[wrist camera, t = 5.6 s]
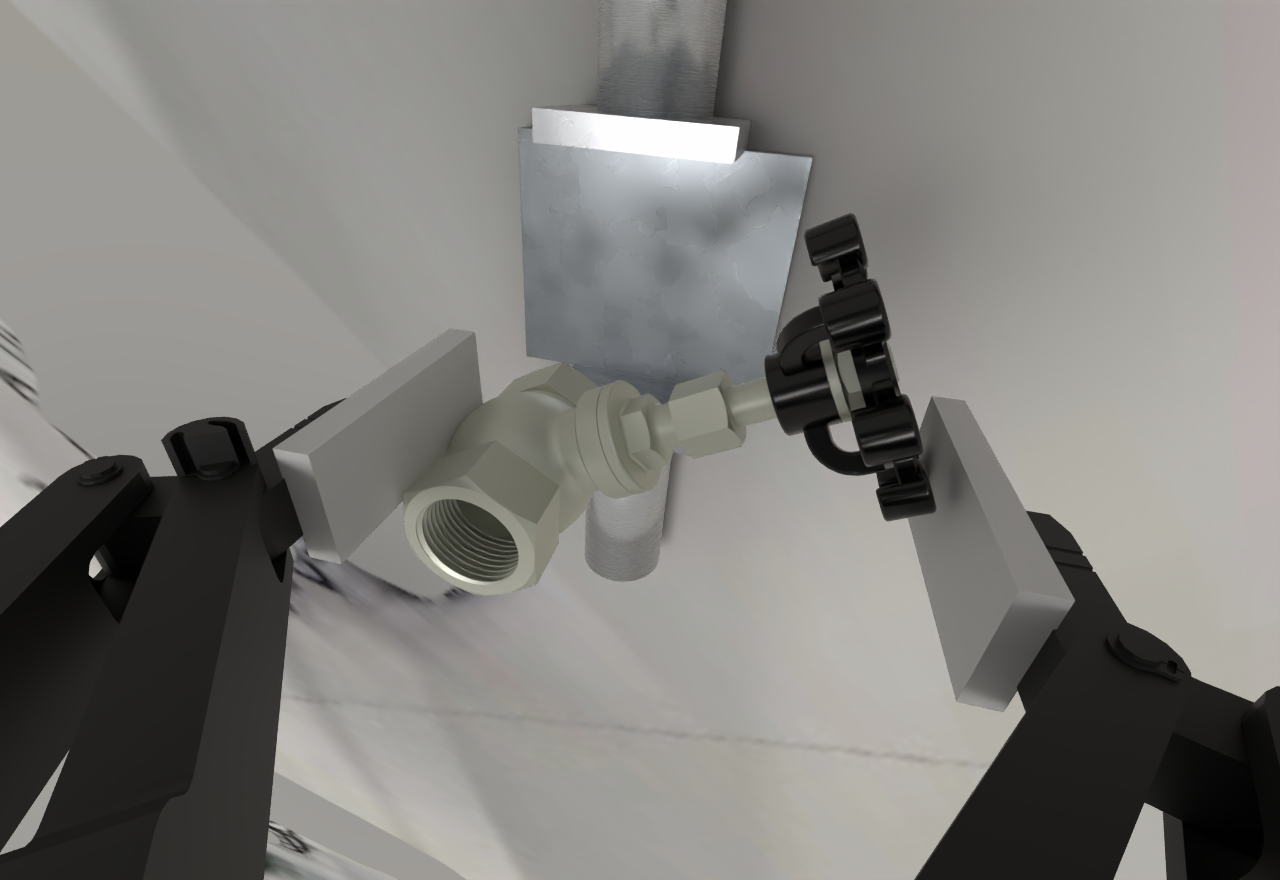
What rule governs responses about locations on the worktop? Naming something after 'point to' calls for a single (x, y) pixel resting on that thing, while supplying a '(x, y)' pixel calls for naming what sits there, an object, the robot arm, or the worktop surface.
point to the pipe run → (653, 236)
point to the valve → (666, 433)
